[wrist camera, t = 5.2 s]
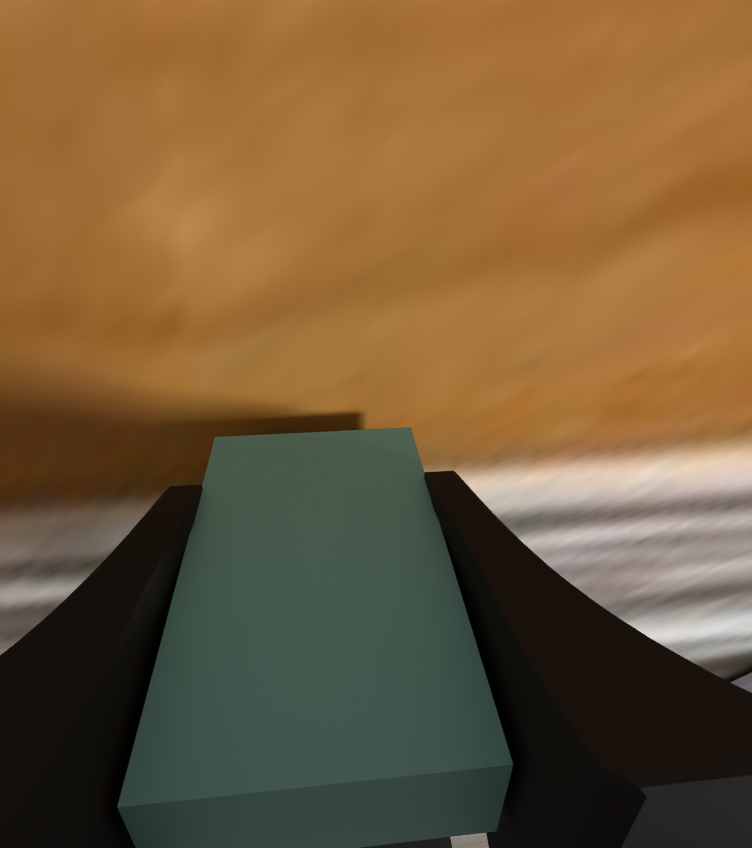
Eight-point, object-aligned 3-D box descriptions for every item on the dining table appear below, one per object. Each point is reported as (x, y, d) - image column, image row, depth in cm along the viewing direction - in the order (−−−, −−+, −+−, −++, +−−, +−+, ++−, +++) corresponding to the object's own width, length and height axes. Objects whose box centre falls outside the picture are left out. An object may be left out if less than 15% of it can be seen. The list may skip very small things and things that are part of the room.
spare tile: (407, 483, 14) (496, 831, 7) (224, 493, 13) (147, 872, 7) (410, 427, 13) (513, 764, 6) (215, 436, 12) (116, 807, 6)
